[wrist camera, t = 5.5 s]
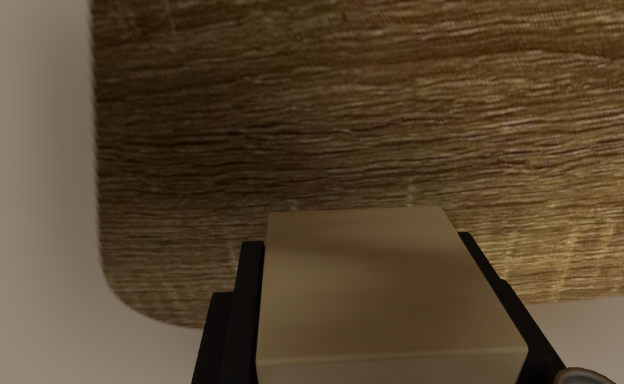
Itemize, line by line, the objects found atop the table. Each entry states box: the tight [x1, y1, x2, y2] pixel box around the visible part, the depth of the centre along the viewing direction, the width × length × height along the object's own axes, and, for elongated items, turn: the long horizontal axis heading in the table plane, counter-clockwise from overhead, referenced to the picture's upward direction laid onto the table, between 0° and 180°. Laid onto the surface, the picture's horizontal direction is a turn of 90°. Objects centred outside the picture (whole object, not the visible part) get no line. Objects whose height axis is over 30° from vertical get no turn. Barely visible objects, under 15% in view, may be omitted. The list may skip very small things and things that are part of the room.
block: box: [256, 205, 528, 384], centre depth 9 cm, size 4×4×4 cm
